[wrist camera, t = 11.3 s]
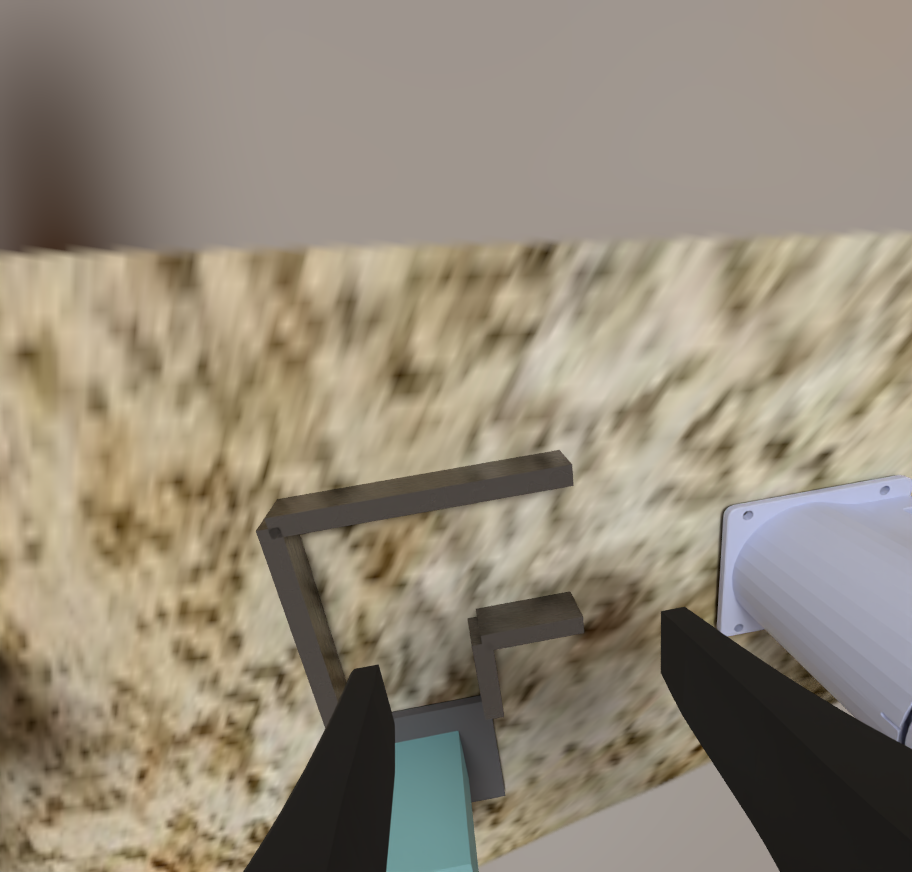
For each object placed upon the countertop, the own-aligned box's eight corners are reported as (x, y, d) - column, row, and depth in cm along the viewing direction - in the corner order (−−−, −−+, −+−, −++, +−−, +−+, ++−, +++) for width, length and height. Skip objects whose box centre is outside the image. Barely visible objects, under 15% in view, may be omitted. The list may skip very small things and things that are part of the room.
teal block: (458, 730, 24) (470, 863, 19) (468, 778, 26) (483, 915, 20) (388, 744, 24) (379, 882, 19) (402, 791, 26) (397, 933, 20)
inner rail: (569, 589, 23) (582, 616, 21) (575, 668, 25) (588, 700, 23) (465, 608, 23) (470, 637, 21) (479, 686, 24) (485, 720, 22)
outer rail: (557, 448, 20) (571, 464, 18) (575, 667, 25) (588, 698, 23) (268, 498, 20) (252, 520, 18) (339, 712, 24) (332, 747, 22)
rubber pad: (488, 693, 24) (488, 700, 24) (504, 788, 27) (505, 795, 27) (346, 721, 24) (345, 727, 24) (376, 813, 27) (376, 821, 26)
